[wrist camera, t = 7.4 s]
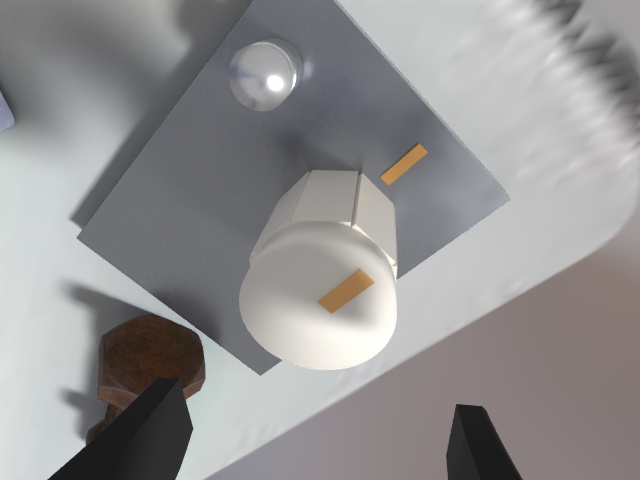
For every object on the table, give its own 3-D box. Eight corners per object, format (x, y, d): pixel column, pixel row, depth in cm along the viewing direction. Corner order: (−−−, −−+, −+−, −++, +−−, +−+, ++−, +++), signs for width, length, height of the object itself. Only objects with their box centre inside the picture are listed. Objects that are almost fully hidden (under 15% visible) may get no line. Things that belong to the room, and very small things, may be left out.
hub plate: (264, 362, 25) (248, 413, 22) (88, 228, 22) (40, 265, 19) (504, 189, 18) (529, 229, 15) (295, -47, 15) (272, -58, 12)
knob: (335, 290, 20) (318, 392, 15) (256, 221, 19) (208, 306, 14) (418, 228, 18) (431, 322, 13) (335, 145, 17) (312, 213, 12)
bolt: (131, 427, 33) (174, 300, 25) (169, 479, 32) (228, 361, 24) (52, 478, 29) (73, 343, 21) (91, 542, 27) (132, 421, 19)
